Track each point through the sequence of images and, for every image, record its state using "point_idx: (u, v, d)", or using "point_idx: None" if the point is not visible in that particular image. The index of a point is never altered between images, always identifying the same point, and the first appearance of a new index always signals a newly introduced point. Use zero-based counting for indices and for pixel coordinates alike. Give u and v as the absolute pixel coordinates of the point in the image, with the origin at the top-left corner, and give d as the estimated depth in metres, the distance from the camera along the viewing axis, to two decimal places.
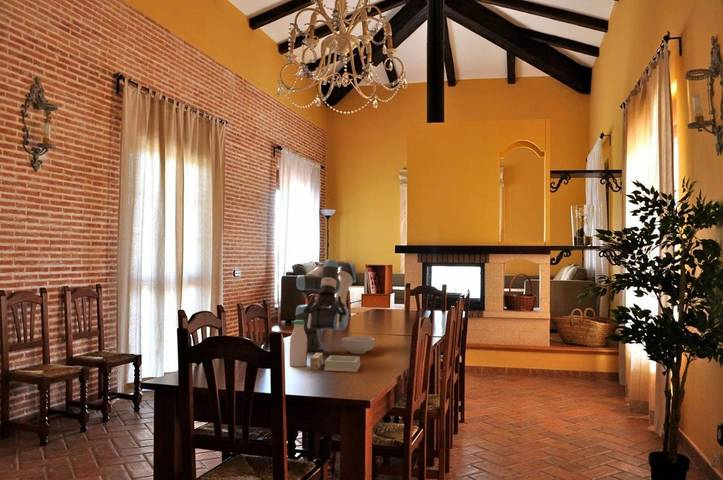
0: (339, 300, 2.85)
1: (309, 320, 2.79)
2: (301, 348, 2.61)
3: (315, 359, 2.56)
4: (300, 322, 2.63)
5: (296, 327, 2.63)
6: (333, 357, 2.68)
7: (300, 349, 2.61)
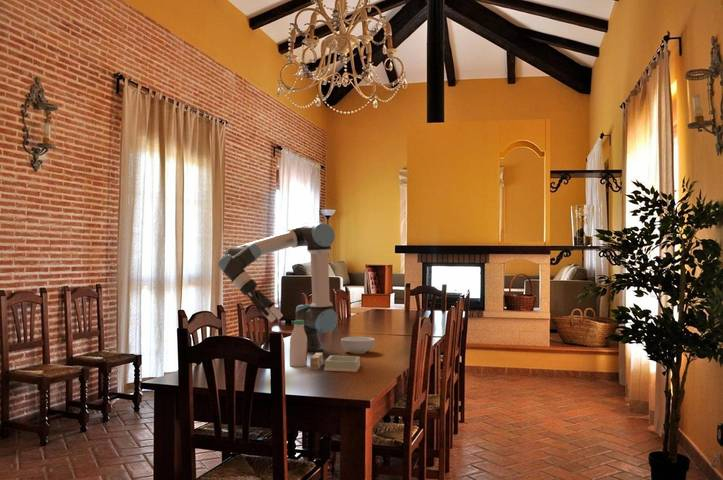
0: None
1: None
2: (301, 348, 2.61)
3: (315, 359, 2.56)
4: (300, 322, 2.63)
5: (296, 327, 2.63)
6: (333, 357, 2.68)
7: (300, 349, 2.61)
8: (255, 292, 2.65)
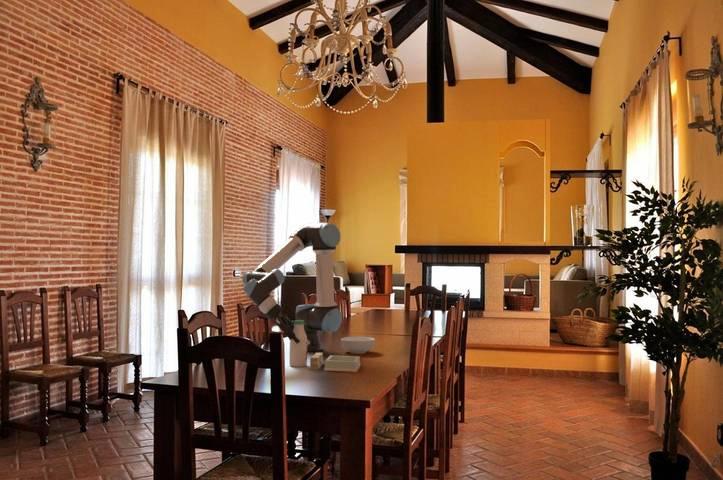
0: None
1: None
2: None
3: (315, 359, 2.56)
4: (300, 322, 2.63)
5: (296, 327, 2.63)
6: (333, 357, 2.68)
7: (300, 349, 2.61)
8: (281, 317, 2.64)
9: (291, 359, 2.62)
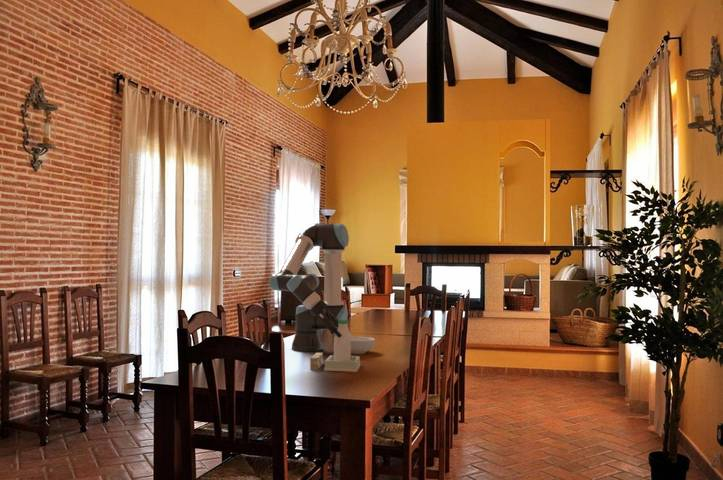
0: None
1: None
2: (346, 348, 2.58)
3: (315, 359, 2.56)
4: (345, 321, 2.60)
5: (340, 326, 2.60)
6: (333, 357, 2.68)
7: (344, 349, 2.58)
8: (325, 313, 2.61)
9: (336, 359, 2.59)
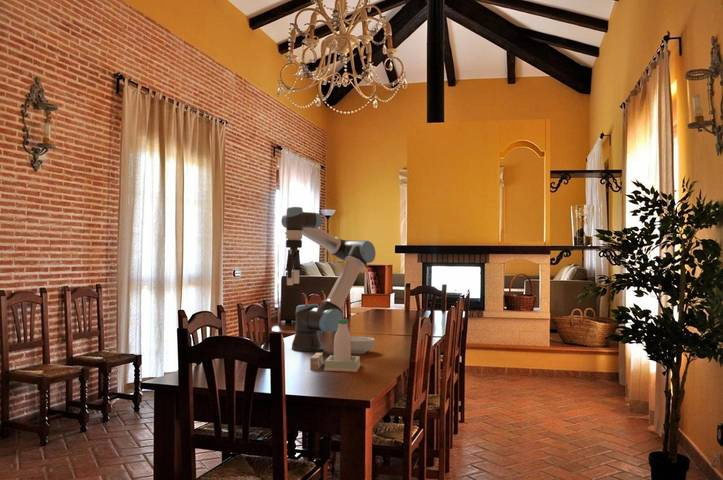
0: None
1: None
2: (346, 348, 2.58)
3: (315, 359, 2.56)
4: (345, 321, 2.60)
5: (340, 326, 2.60)
6: (333, 357, 2.68)
7: (344, 349, 2.58)
8: (295, 252, 2.82)
9: (336, 359, 2.59)
